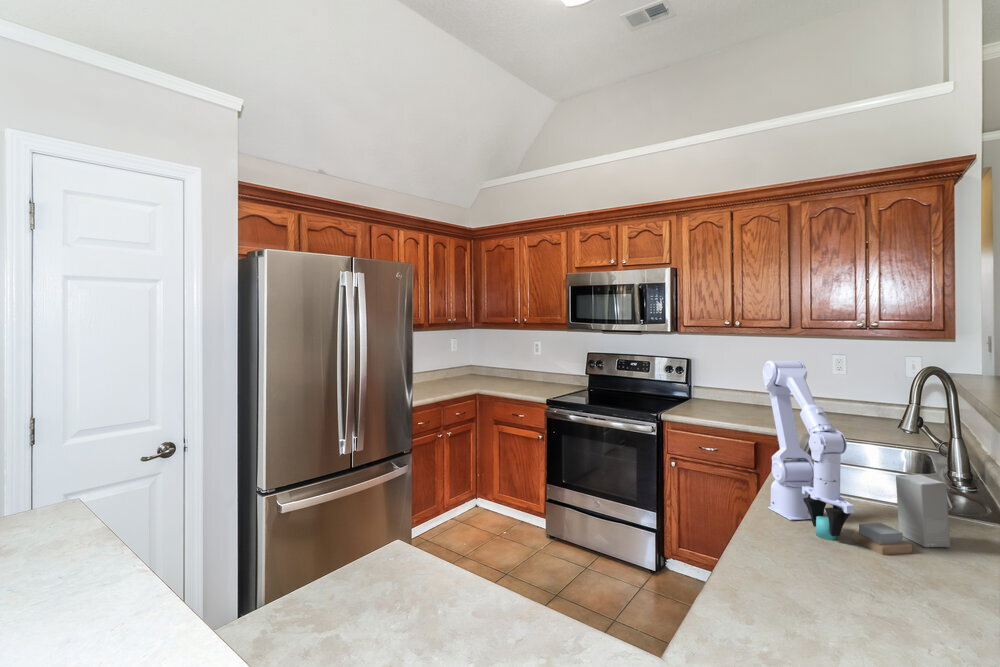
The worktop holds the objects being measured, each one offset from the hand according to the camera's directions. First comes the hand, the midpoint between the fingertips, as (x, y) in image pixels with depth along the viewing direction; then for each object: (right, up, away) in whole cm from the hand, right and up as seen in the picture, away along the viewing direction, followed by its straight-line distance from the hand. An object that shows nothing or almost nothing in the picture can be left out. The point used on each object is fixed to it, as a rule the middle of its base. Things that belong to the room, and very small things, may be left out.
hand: (826, 530), depth 127 cm
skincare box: (+22, -2, -3) cm, 22 cm away
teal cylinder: (0, -2, 0) cm, 2 cm away
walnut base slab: (+10, -2, -6) cm, 12 cm away
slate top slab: (+10, 0, -6) cm, 11 cm away
